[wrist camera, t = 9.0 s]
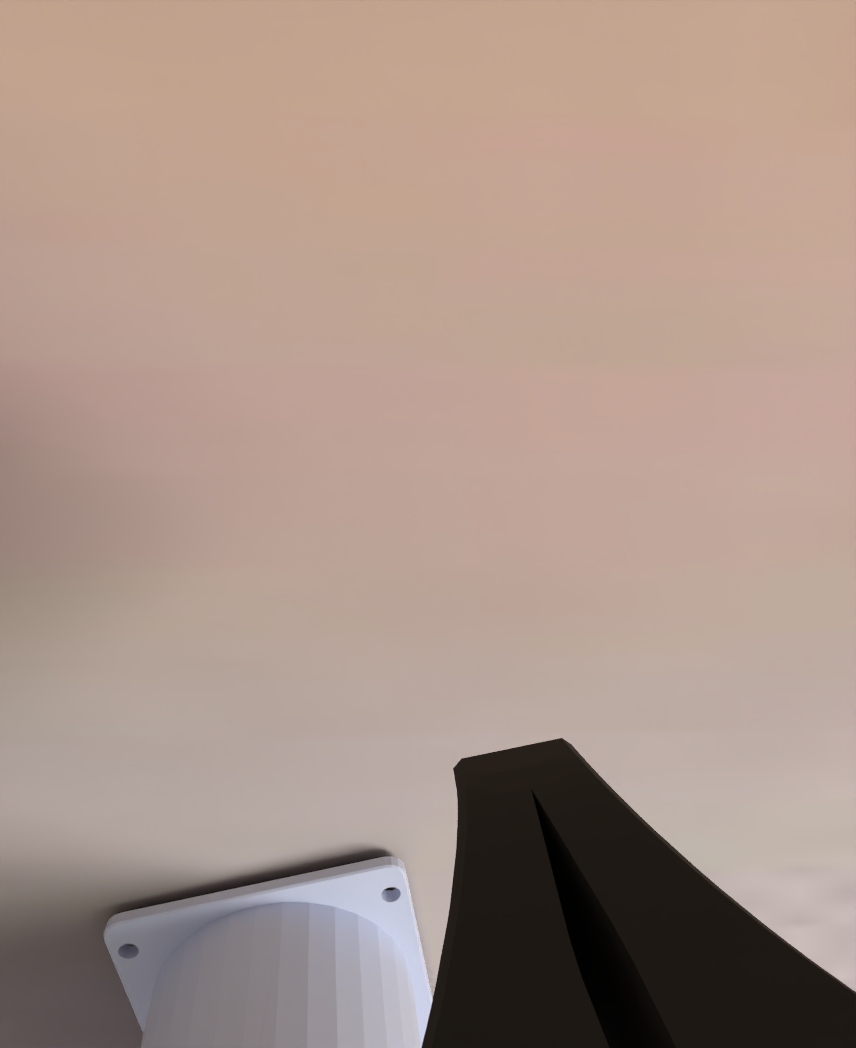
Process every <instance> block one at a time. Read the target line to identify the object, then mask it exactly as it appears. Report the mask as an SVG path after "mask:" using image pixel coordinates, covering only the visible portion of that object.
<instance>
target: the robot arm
mask: <svg viewBox="0 0 856 1048" xmlns="http://www.w3.org/2000/svg"><path fill="white" fill-rule="evenodd" d="M453 770H454V775H455V781H456V787H457V797H458V829H457V849H456V858H455V867H454V876H453V885H452V894H451V903H450V910H449V916H448V922H447V928H446V933H445V939H444V944H443V949H442V955H441V960H440V966H439V971H438V976H437V982H436V987H435V992H434V996H433V998H432V994H431V989H430V984H429V979H428V975H427V970H426V965H425V960H424V955H423V951H422V946H421V941H420V936H419V931H418V927H417V922H416V917H415V912H414V907H413V903H412V898H411V893H410V888H409V884H408V879H407V874H406V869H405V866H404V864H403V862H402V861H401V860H399V859H398V858H395V857H392V856H387V857H380V858H375V859H371V860H366V861H361V862H356V863H352V864H347V865H342V866H338V867H333V868H328V869H324V870H319V871H314V872H309V873H305V874H300V875H295V876H291V877H286V878H281V879H277V880H272V881H267V882H262V883H258V884H253V885H248V886H244V887H239V888H234V889H230V890H225V891H220V892H215V893H211V894H206V895H201V896H197V897H192V898H187V899H183V900H178V901H173V902H168V903H164V904H159V905H154V906H150V907H145V908H140V909H136V910H131V911H126V912H121V913H118V914H116V915H113V916H112V917H111V918H110V919H109V920H108V922H107V924H106V927H105V931H104V934H103V936H104V941H105V944H106V946H107V949H108V951H109V953H110V956H111V958H112V961H113V963H114V965H115V968H116V970H117V973H118V975H119V977H120V980H121V982H122V984H123V987H124V989H125V992H126V994H127V996H128V999H129V1001H130V1004H131V1006H132V1008H133V1011H134V1013H135V1016H136V1018H137V1020H138V1023H139V1025H140V1028H141V1030H142V1032H143V1038H142V1042H141V1047H140V1048H856V992H855V991H853V990H852V989H850V988H849V987H848V986H846V985H845V984H843V983H842V982H841V981H839V980H838V979H836V978H835V977H834V976H832V975H831V974H829V973H828V972H827V971H825V970H824V969H822V968H821V967H820V966H818V965H817V964H815V963H814V962H813V961H811V960H810V959H809V958H807V957H806V956H805V955H803V954H802V953H801V952H799V951H798V950H797V949H795V948H794V947H793V946H791V945H790V944H789V943H787V942H786V941H785V940H784V939H782V938H781V937H780V936H778V935H777V934H776V933H775V932H773V931H772V930H771V929H769V928H768V927H767V926H766V925H764V924H763V923H762V922H760V921H759V920H758V919H757V918H756V917H754V916H753V915H752V914H751V913H749V912H748V911H747V910H746V909H745V908H743V907H742V906H741V905H740V904H738V903H737V902H736V901H735V900H733V899H732V898H731V897H730V896H729V895H727V894H726V893H725V892H724V891H722V890H721V889H720V888H719V887H718V886H717V885H715V884H714V883H713V882H712V881H711V880H710V879H708V878H707V877H706V876H705V875H704V874H703V873H701V872H700V871H699V870H698V869H697V868H696V867H695V866H693V865H692V864H691V863H690V862H689V861H688V860H687V859H686V858H685V857H684V856H682V855H681V854H680V853H679V852H678V851H677V850H676V849H675V848H674V847H673V846H671V845H670V844H669V843H668V842H667V841H666V840H665V839H664V838H663V837H661V836H660V835H659V834H658V833H657V832H656V831H655V830H654V829H653V828H652V827H651V826H650V825H649V824H647V823H646V822H645V821H644V820H643V819H642V818H641V817H640V816H639V815H638V814H637V813H636V812H635V811H634V810H633V809H632V808H631V807H630V806H629V805H628V804H627V803H626V802H625V801H624V800H623V799H622V798H621V797H620V796H619V795H618V794H617V793H616V792H615V791H614V790H613V789H612V788H611V787H610V786H609V785H608V784H607V783H606V782H605V781H604V780H603V779H602V778H601V777H600V776H599V775H598V773H597V772H596V771H595V770H594V769H593V768H592V767H591V766H590V765H589V764H588V763H587V762H586V761H585V759H584V758H583V757H582V756H581V755H580V754H579V753H578V752H577V751H576V749H575V748H574V747H573V746H572V745H571V744H570V743H568V742H567V741H565V740H564V739H562V738H560V739H555V740H550V741H546V742H541V743H536V744H531V745H526V746H521V747H516V748H512V749H507V750H502V751H497V752H492V753H487V754H482V755H478V756H473V757H468V758H463V759H461V760H460V761H459V762H458V764H457V765H456V766H455V767H454V768H453ZM389 887H395V888H396V889H393V890H387V891H386V890H384V889H386V888H389ZM126 944H133V945H135V946H128V945H126Z"/></svg>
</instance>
